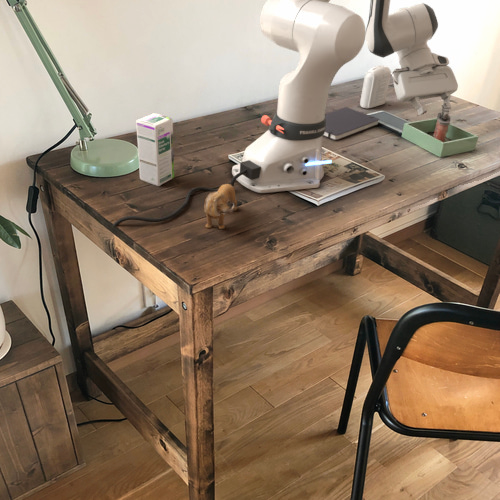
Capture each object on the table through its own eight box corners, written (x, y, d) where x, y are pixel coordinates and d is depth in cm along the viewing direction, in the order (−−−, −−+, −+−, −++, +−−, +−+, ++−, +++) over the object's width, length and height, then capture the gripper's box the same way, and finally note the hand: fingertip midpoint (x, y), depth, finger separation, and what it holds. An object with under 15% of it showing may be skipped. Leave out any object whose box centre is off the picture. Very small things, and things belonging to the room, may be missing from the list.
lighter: (444, 149, 157) (454, 114, 152) (432, 147, 158) (441, 112, 152) (442, 138, 164) (451, 104, 158) (430, 137, 164) (438, 103, 159)
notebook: (345, 111, 178) (300, 127, 165) (346, 106, 177) (301, 121, 164) (379, 124, 171) (335, 140, 158) (380, 119, 170) (336, 135, 157)
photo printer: (376, 100, 189) (383, 62, 182) (386, 103, 187) (394, 65, 180) (357, 106, 183) (363, 67, 176) (368, 110, 180) (375, 70, 174)
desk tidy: (440, 157, 152) (443, 143, 150) (401, 136, 163) (404, 123, 161) (474, 150, 158) (478, 136, 156) (435, 130, 169) (438, 117, 167)
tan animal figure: (226, 240, 112) (228, 199, 107) (199, 236, 112) (200, 195, 107) (239, 204, 124) (241, 166, 119) (215, 201, 125) (216, 163, 120)
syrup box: (158, 187, 129) (156, 125, 121) (138, 179, 131) (135, 118, 123) (174, 178, 133) (173, 118, 125) (154, 171, 135) (152, 111, 127)
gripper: (397, 63, 153) (414, 111, 151) (452, 57, 162) (469, 102, 160) (383, 75, 159) (400, 121, 157) (436, 68, 168) (453, 112, 166)
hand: (435, 111), depth 159 cm, fingers open, 8 cm apart
